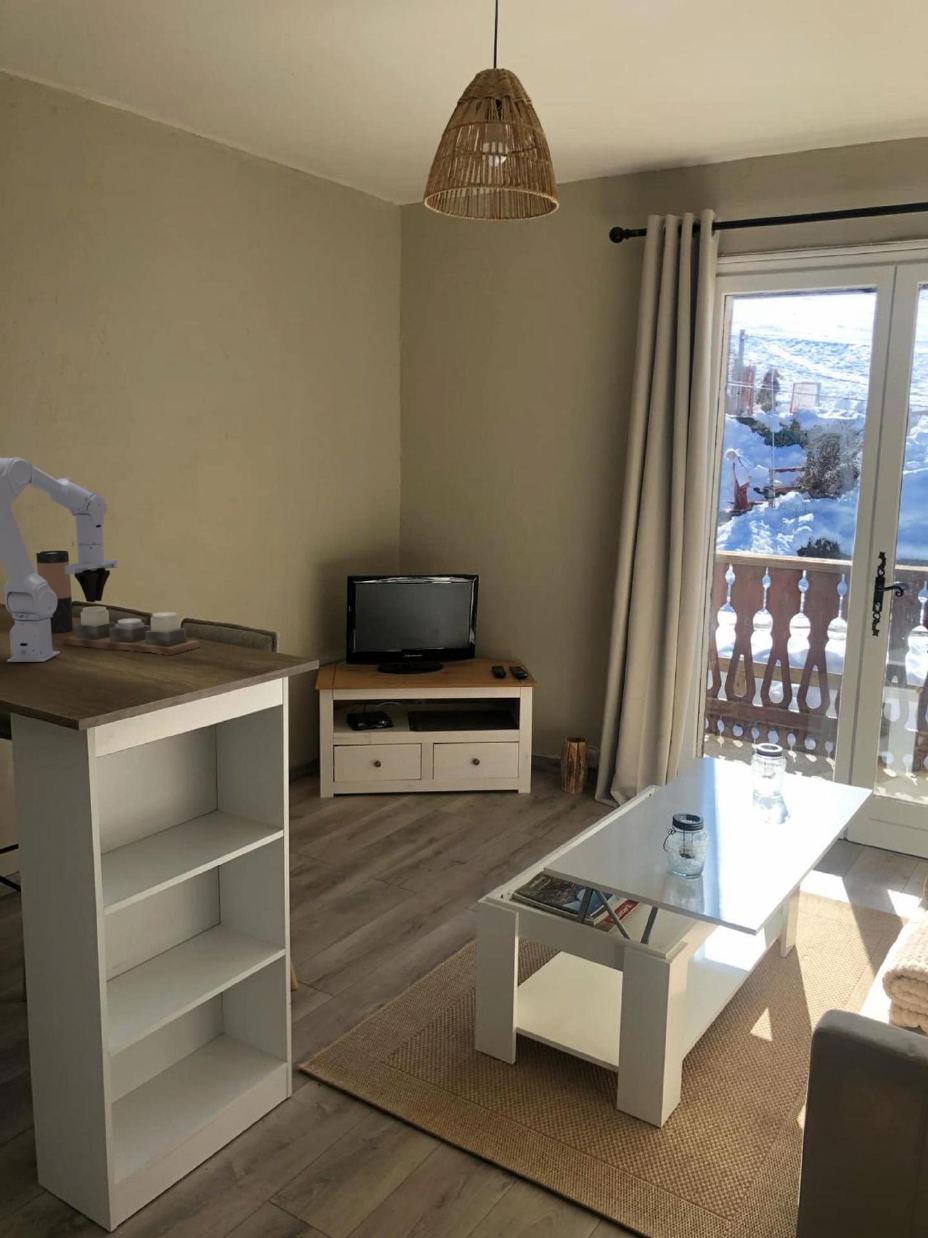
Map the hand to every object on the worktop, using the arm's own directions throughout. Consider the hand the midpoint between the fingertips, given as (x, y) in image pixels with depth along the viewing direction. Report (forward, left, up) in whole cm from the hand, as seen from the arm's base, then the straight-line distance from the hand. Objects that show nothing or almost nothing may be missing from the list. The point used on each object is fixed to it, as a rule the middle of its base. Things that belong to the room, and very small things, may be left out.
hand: (93, 601), depth 239 cm
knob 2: (-4, -9, -8) cm, 13 cm away
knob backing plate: (-4, -10, -10) cm, 14 cm away
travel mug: (+17, +16, -10) cm, 25 cm away
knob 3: (-9, -19, -6) cm, 22 cm away
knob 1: (0, 0, -6) cm, 6 cm away
